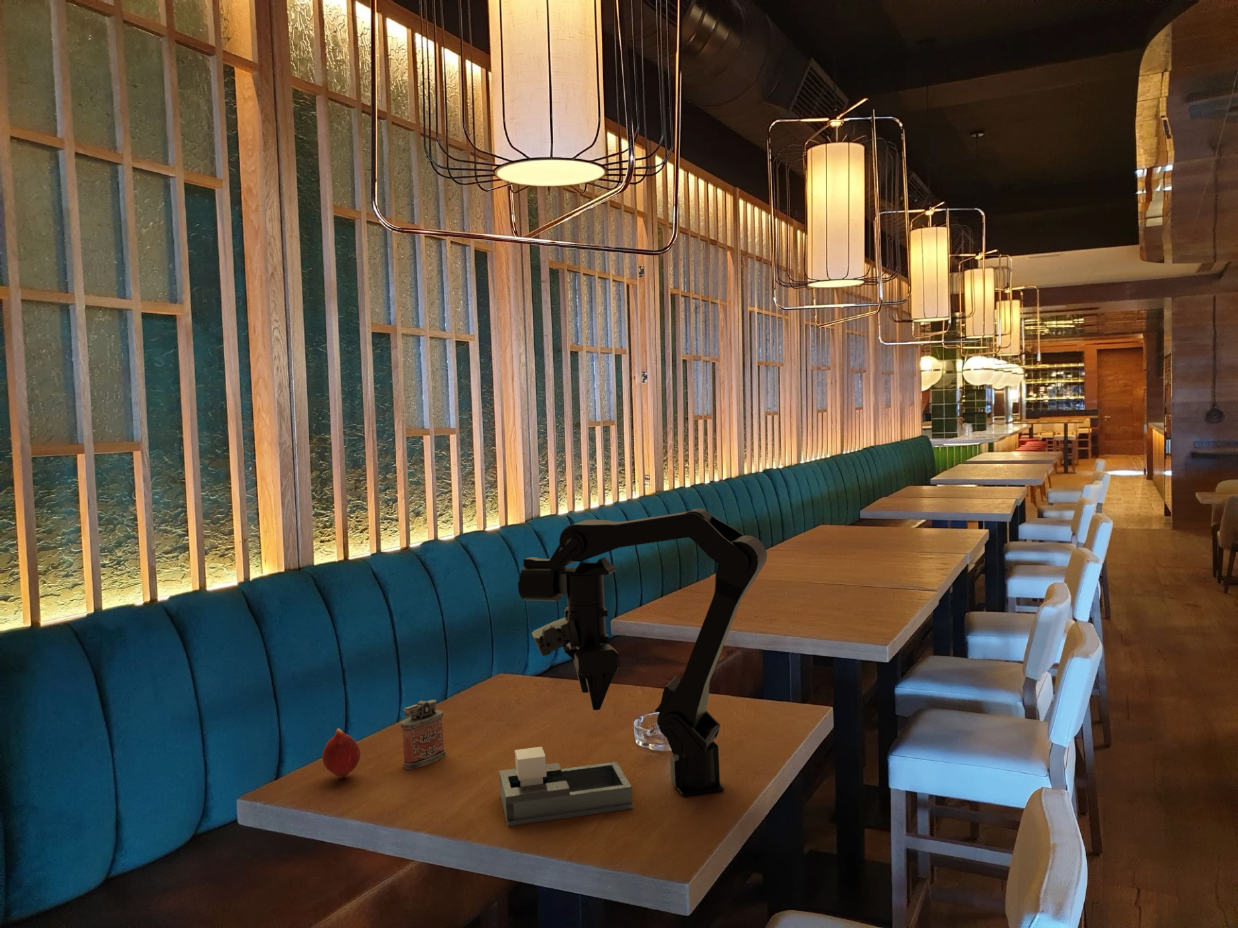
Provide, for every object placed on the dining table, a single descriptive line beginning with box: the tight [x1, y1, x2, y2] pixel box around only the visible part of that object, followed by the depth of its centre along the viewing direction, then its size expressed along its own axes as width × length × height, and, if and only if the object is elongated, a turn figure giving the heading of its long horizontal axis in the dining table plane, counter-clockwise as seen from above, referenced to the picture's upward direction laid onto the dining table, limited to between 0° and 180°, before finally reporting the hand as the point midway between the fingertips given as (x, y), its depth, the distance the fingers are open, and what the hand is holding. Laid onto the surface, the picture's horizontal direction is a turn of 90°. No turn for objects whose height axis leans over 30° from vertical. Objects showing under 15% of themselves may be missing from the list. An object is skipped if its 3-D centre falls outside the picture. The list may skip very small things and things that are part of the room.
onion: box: [321, 728, 361, 779], centre depth 149 cm, size 6×6×8 cm
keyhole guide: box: [499, 761, 634, 827], centre depth 136 cm, size 18×11×4 cm, turn 102°
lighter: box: [400, 699, 446, 770], centre depth 155 cm, size 8×3×10 cm, turn 141°
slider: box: [514, 746, 547, 787], centre depth 135 cm, size 6×6×7 cm
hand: (590, 700), depth 145 cm, fingers open, 9 cm apart
